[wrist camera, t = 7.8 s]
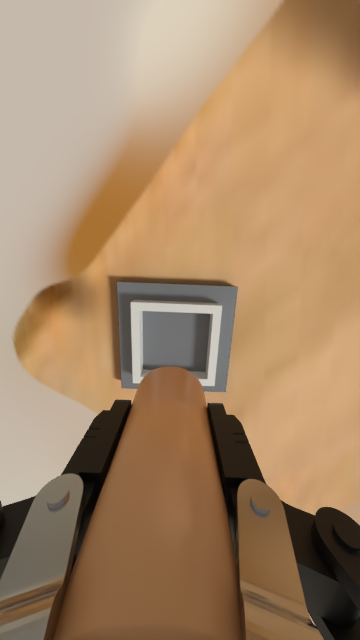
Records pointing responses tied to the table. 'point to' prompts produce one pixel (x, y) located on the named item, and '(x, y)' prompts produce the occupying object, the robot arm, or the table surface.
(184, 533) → the brown peg
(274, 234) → the table surface
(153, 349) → the housing
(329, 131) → the table surface
